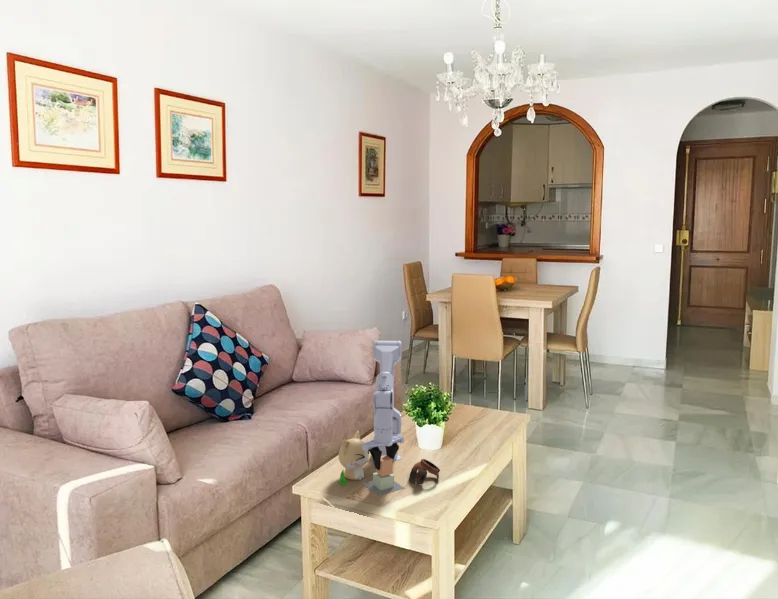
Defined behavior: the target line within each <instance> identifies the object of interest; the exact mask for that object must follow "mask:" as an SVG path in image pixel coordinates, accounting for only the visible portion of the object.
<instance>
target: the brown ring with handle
mask: <svg viewBox="0 0 778 599" xmlns="http://www.w3.org/2000/svg"><path fill="white" fill-rule="evenodd" d="M440 471H441V469H440V467H438V466H437V465H436V464H435V463H433V462H431V461H430V460H427V459H425V458H421V460H420V461H418V462H416V463H415V464H414V465H413V467H412V468H411V470H410V473H409V477H408V481H409V482H410V483H411V484H417V485H423V484H424V481H425V479H426V478H427V475H428V473H429V474H431V475H434V476H435V477H436V480H435V484H436V483H438V481H439V479H440V474H439V473H440Z"/></svg>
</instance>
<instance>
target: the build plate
mask: <svg viewBox="0 0 778 599" xmlns="http://www.w3.org/2000/svg"><path fill="white" fill-rule="evenodd" d="M362 485H363V486H365V487H366V488H368V489H369V490H370V491H371V492H373V493H374V494H376V495H377V496H382V495H385V494H389V493H392V492H396V491H400V490H404V489H405V487H403V485H401V484H400V483H398V482H396V481H395V480H394V487H392V488H389V489H385V490H379V489H378V488H377V487H375V486H374V485H373V480H372V481H369V482H364V483H362Z"/></svg>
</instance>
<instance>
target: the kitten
mask: <svg viewBox="0 0 778 599" xmlns="http://www.w3.org/2000/svg"><path fill="white" fill-rule="evenodd" d="M363 443H365V442H364V441H363V440H362V439H361V436H360V431H359V430H357V431H356V432H355V433H354V435H353V437H352V438H349V439H342V440H341V445H340V447H339V448H340V449H339V451H338V461H339V463H340V465H341V466H342V467H343V468H345V469H342V470H341V472H340V476H339V484H340V485H342V486H347V485H348V480H349V481H350V480H351V481H357V480H358V481H361V480H363V479H364V478H365V473H364V469H363V466H365V465H366V464H367V462H368V461H369V456H370V452H369V450H368V451H365V450H363V449H362V444H363ZM347 479H348V480H347Z"/></svg>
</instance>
